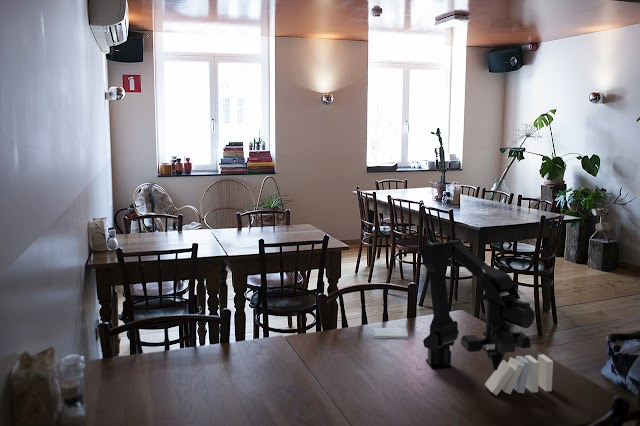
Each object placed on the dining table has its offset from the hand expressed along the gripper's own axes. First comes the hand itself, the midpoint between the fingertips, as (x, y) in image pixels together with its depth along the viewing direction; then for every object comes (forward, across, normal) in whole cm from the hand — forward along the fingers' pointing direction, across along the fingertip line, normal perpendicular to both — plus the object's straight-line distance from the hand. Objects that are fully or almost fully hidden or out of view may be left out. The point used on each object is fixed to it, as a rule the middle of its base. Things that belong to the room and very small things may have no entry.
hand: (494, 369), depth 159 cm
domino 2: (+6, +3, 0) cm, 7 cm away
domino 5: (+7, +16, 0) cm, 17 cm away
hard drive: (+7, -18, +48) cm, 52 cm away
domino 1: (+6, -1, 0) cm, 6 cm away
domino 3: (+6, +7, 0) cm, 10 cm away
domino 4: (+7, +11, 0) cm, 13 cm away
